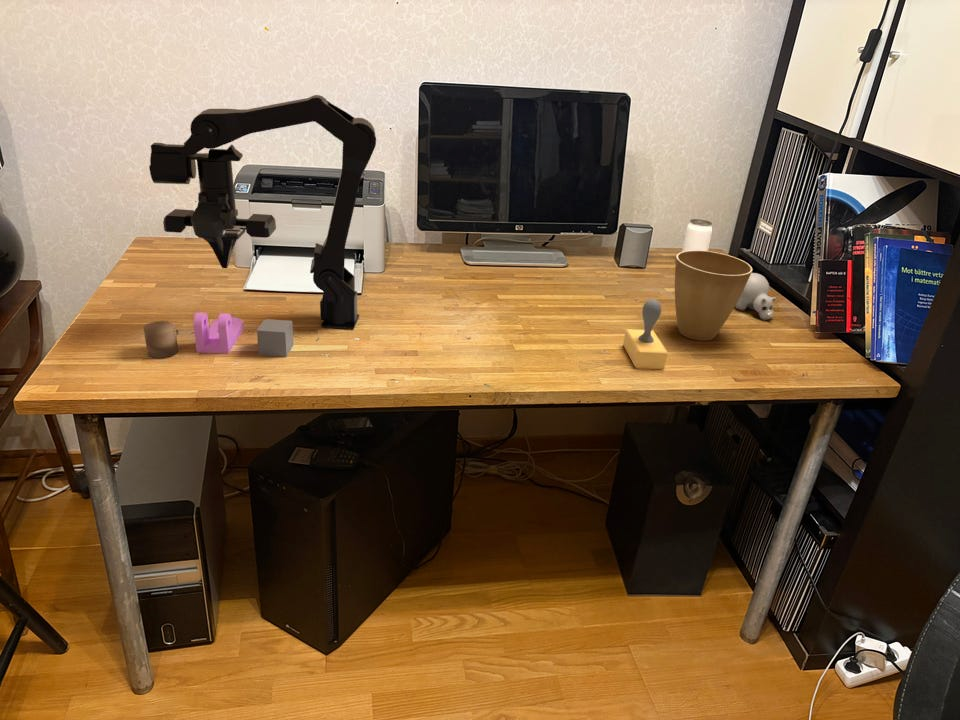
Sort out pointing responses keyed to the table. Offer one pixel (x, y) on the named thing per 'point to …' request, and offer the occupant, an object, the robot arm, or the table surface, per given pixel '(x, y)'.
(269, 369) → the table surface
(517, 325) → the table surface
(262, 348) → the grey cube
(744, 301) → the chubby cartoon animal
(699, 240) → the can
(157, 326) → the walnut cylinder
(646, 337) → the rubber stamp
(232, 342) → the bracket
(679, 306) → the plant pot
